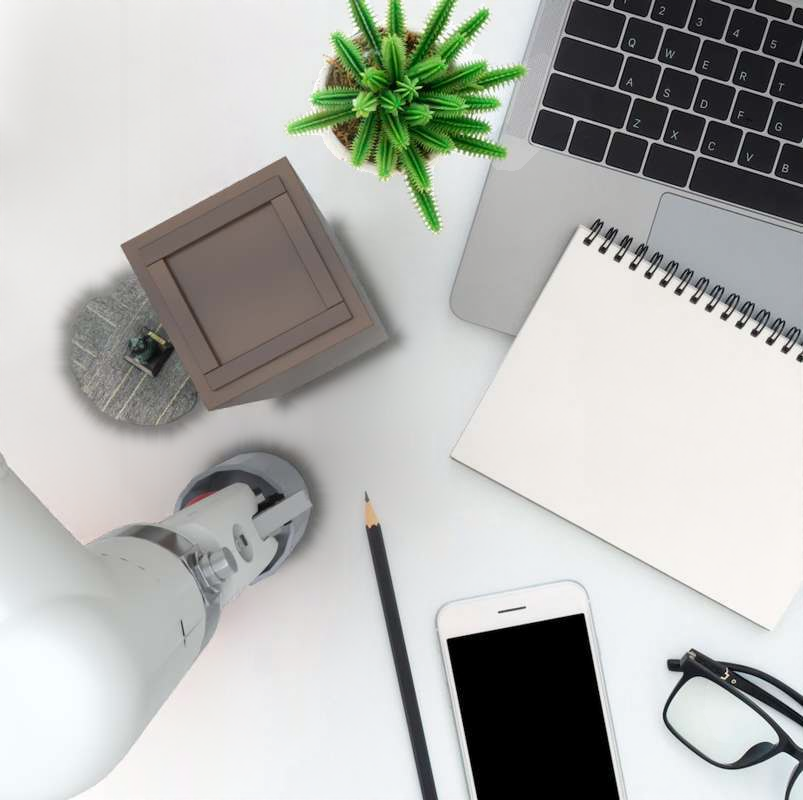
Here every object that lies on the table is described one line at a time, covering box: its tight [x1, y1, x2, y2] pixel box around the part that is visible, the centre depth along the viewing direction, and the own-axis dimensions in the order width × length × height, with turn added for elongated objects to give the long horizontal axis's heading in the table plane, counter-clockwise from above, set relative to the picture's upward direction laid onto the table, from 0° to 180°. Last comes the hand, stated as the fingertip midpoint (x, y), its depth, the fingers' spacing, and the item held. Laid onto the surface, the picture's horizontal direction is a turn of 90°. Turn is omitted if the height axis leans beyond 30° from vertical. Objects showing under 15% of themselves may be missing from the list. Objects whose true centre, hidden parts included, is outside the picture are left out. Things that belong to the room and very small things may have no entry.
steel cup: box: [172, 451, 312, 587], centre depth 65 cm, size 9×9×9 cm
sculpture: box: [70, 277, 198, 426], centre depth 69 cm, size 12×9×8 cm
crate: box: [119, 155, 390, 412], centre depth 56 cm, size 10×10×24 cm
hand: (222, 531), depth 58 cm, fingers closed on apple, 6 cm apart
